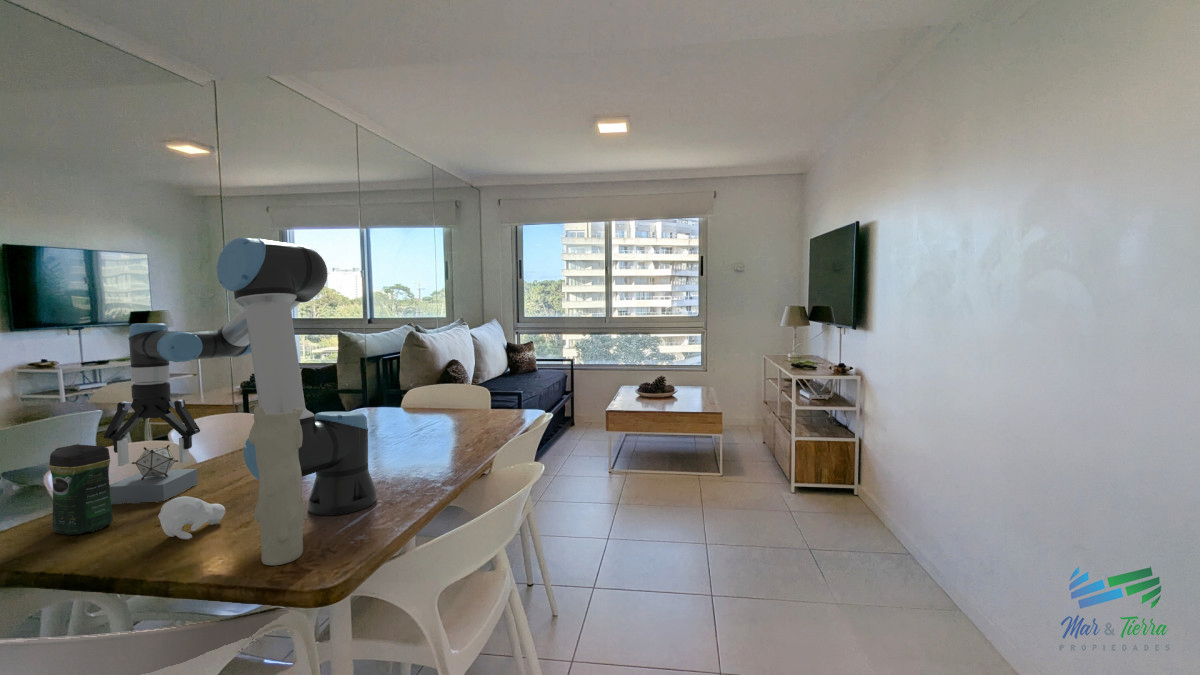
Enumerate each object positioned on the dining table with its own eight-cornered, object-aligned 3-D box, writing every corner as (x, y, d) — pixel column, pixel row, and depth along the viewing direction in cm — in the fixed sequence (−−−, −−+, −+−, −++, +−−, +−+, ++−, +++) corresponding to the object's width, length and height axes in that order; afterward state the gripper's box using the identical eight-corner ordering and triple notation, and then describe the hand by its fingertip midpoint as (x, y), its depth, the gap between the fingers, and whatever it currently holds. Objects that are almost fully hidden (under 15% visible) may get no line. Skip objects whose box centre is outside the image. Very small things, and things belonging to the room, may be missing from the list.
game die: (158, 492, 130) (150, 468, 125) (128, 481, 130) (118, 456, 125) (189, 467, 138) (182, 443, 132) (160, 456, 138) (152, 431, 132)
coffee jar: (121, 522, 113) (117, 442, 113) (78, 538, 106) (73, 451, 105) (89, 519, 116) (85, 439, 115) (44, 533, 108) (40, 448, 107)
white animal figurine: (155, 499, 105) (214, 485, 116) (152, 540, 104) (212, 523, 116) (176, 502, 103) (234, 488, 114) (173, 545, 102) (232, 526, 114)
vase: (245, 568, 94) (240, 409, 92) (274, 546, 102) (270, 401, 101) (291, 568, 94) (287, 409, 92) (317, 547, 102) (313, 401, 101)
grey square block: (164, 504, 126) (163, 484, 126) (106, 506, 124) (105, 486, 124) (198, 486, 139) (197, 468, 139) (146, 488, 137) (145, 470, 137)
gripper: (213, 379, 137) (216, 456, 138) (104, 381, 131) (108, 461, 132) (198, 383, 129) (201, 464, 130) (81, 385, 124) (86, 470, 125)
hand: (154, 463), depth 131 cm, fingers open, 13 cm apart
